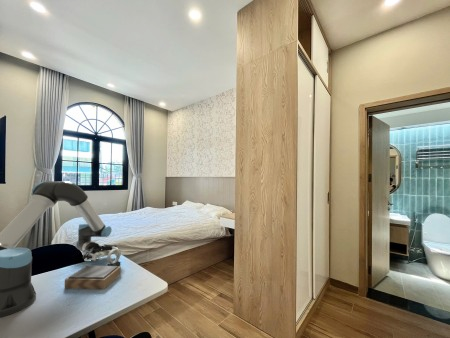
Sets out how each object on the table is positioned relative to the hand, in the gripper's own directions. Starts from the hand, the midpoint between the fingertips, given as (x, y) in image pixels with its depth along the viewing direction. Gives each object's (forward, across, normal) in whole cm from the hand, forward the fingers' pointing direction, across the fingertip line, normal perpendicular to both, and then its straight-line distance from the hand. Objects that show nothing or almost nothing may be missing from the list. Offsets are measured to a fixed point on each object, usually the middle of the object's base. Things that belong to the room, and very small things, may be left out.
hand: (107, 254), depth 122 cm
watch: (+8, 0, -7) cm, 11 cm away
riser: (+15, +14, -6) cm, 21 cm away
